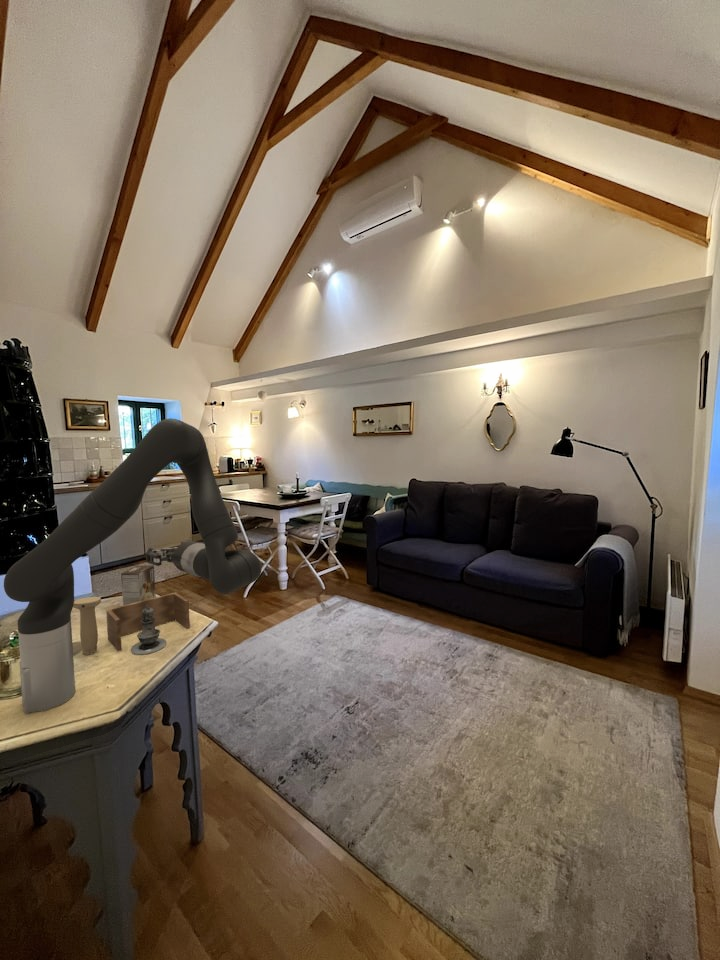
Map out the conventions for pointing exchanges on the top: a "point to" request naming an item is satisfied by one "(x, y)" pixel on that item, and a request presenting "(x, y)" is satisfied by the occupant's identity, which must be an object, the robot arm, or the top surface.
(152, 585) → the coffee box
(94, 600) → the turned wooden grip
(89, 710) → the top surface
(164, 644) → the coaster
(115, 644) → the walnut cubby
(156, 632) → the grey metal upright piece
